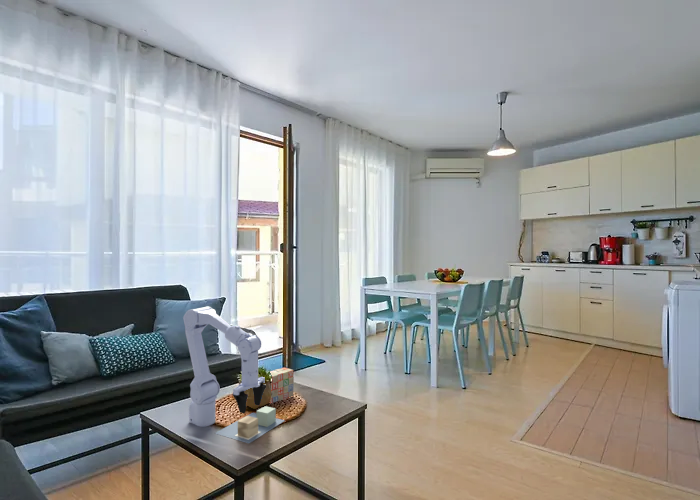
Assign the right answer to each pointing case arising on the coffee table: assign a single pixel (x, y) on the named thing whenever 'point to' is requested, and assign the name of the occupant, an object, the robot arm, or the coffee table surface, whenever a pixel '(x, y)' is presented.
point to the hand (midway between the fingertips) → (250, 408)
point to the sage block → (266, 416)
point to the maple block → (247, 426)
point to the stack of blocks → (281, 384)
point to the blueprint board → (232, 433)
